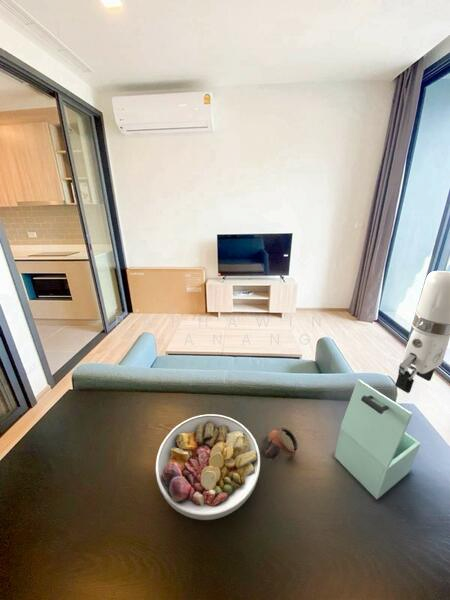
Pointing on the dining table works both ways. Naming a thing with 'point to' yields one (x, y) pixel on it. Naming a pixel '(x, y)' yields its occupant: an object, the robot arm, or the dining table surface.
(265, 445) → the headphones
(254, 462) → the bowl
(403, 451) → the box
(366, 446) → the cooler lid
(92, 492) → the dining table surface
